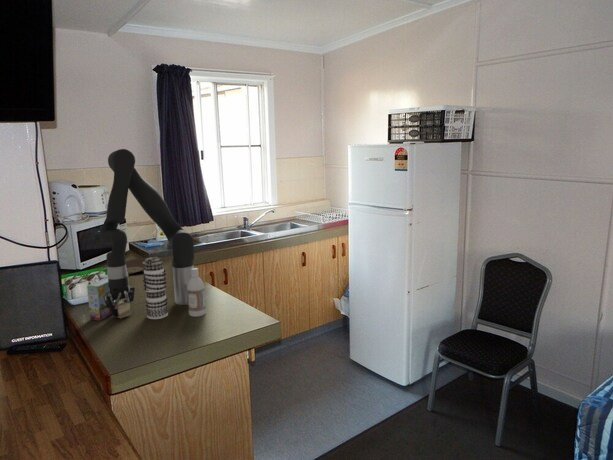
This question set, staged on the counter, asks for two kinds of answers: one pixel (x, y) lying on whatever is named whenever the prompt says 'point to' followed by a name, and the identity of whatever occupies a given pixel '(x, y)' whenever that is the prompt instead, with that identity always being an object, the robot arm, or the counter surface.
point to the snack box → (99, 299)
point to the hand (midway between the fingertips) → (121, 314)
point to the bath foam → (196, 295)
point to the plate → (135, 263)
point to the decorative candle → (155, 288)
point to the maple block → (123, 309)
